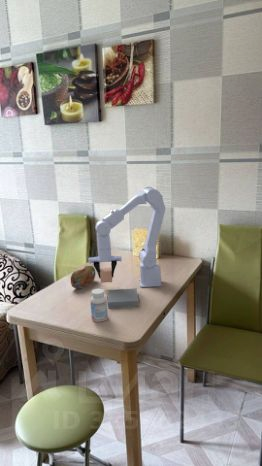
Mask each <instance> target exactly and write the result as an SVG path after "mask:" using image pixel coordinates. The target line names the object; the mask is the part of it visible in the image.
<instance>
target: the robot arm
mask: <svg viewBox="0 0 262 466" xmlns="http://www.w3.org/2000/svg"><path fill="white" fill-rule="evenodd" d="M147 203H148V204H149V205H150V207H151V209H152V214H151V218H150V221H149V226H148V230H147V234H146V237H145V238H146V239H145V243H143V245H142V248H141V249H140V251H139V252H138V258H139V260H140V264H139V274H140V275H139V276H140V277H139V278H140V279H139V280H138V281H139V286H140V288H149V287H150V288H151V287H152V288H153V287H154V288H155V287H162V271H161V264H157V253H158V251H157V245H158V241H159V236H160V233H161V228H162V224H163V221H164V217H165V212H166V205H165V202H164V199H163V195H162V193H161V192H160V191H159V190H158V189H156V188H154V187H152V186H146V187H144V188H143V189H141V190H139V191H138V192H137V193H136V194H135V195H134V196H133V197H132V198H131V199H129V200H128V201H127V202H126V203H125V204H124V205H123V206H121V207H120V208H119V209H117V208H114V209H112V210H110V213H109V214H107V216H105V217H102V218H101V220H99V221H97V222H96V223H95V226H94V228H95V231H96V243H97V244H96V246H97V254H98V256H94V257H93V256H92V257H88V260H87V261H88V264H93V267H94V269H95V272H97V276H98V278H99V279H100V268H101V265H100V264H101V263H108V262H110V263H111V264H110V267H112V279H113V278H114V276H115V275H114V273H115V269H116V267H117V264H118V262H123V261H122V259H123V258H122V255H112V247H111V245H112V243H111V237H110V236H111V235H110V233H111V230H112V229H114V228H115V227H116V226H118V225H119V224H120V223H121V222H122V221H123V220H124V219H125V215H127V214H128V213H130V212H131V211H132V210H133V209H135V208H137V207H138V206H140V205H147Z"/></svg>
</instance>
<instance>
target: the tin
mask: <svg viewBox="0 0 262 466" xmlns="http://www.w3.org/2000/svg"><path fill="white" fill-rule="evenodd" d="M95 278H96V269H95V267H94V265H85V266H83V267H81V268H79V269H76V270H74V271H73V272H72V274H71V276H70V285H71V287H72V288H74V289H77V290H82V289H83V288H85V287H86V286H88V285H90V284H92V283H93V282H94V280H95Z"/></svg>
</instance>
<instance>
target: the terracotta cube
mask: <svg viewBox="0 0 262 466" xmlns="http://www.w3.org/2000/svg"><path fill="white" fill-rule="evenodd" d="M99 280H100V284H101V283H102V284H103V283H112V282H113V278H112V267H111V266H110V267H100V278H99Z"/></svg>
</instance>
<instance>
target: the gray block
mask: <svg viewBox="0 0 262 466" xmlns="http://www.w3.org/2000/svg"><path fill="white" fill-rule="evenodd" d="M138 296H139V295H138V289H137V288H136V287H135V288H121V289H119V288H117V289H109V290H108V295H107V309H117V308H118V309H119V308H121V309H122V308H134V307H135V308H136V307H139V299H138Z"/></svg>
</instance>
